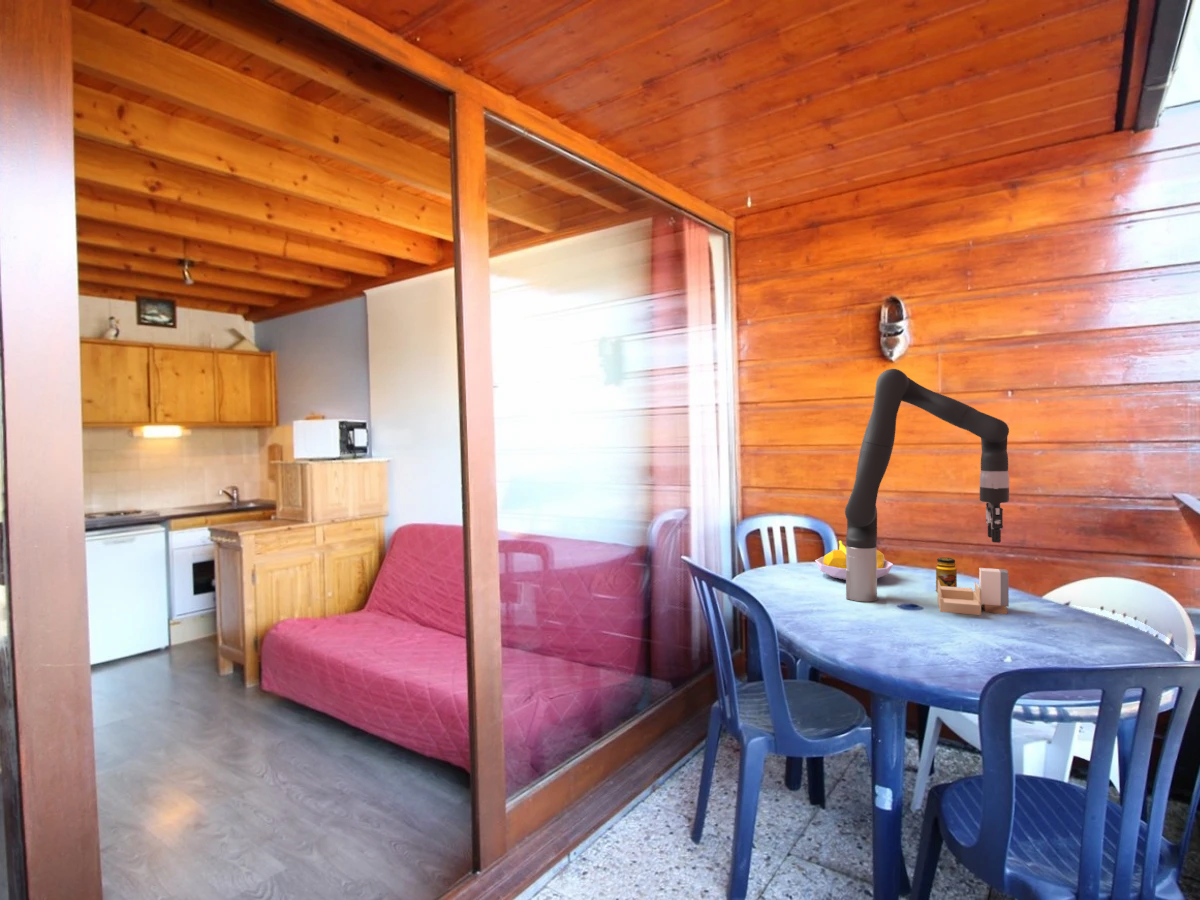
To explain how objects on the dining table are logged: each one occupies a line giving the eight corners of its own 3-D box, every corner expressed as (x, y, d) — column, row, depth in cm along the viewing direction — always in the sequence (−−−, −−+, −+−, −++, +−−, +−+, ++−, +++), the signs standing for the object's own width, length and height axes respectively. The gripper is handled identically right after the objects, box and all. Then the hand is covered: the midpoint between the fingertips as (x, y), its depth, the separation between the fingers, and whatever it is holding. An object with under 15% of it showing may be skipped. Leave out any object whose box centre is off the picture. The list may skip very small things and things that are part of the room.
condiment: (947, 598, 210) (947, 561, 209) (925, 592, 218) (925, 557, 217) (963, 595, 213) (963, 559, 212) (941, 589, 220) (940, 554, 220)
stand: (985, 614, 191) (985, 605, 191) (981, 607, 199) (981, 599, 198) (1007, 616, 189) (1007, 607, 189) (1002, 608, 196) (1002, 600, 196)
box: (981, 604, 193) (981, 571, 193) (979, 600, 197) (979, 567, 197) (1008, 606, 190) (1008, 572, 190) (1006, 602, 194) (1006, 569, 194)
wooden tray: (941, 617, 190) (941, 591, 189) (936, 599, 208) (936, 576, 208) (982, 620, 185) (982, 594, 185) (974, 602, 204) (974, 578, 204)
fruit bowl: (895, 588, 224) (895, 555, 223) (813, 583, 233) (813, 552, 233) (890, 571, 250) (890, 541, 249) (817, 567, 260) (816, 539, 259)
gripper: (976, 483, 201) (976, 535, 201) (982, 487, 188) (982, 543, 188) (1005, 483, 197) (1004, 536, 198) (1013, 488, 184) (1012, 544, 185)
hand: (994, 539), depth 193 cm, fingers open, 8 cm apart
